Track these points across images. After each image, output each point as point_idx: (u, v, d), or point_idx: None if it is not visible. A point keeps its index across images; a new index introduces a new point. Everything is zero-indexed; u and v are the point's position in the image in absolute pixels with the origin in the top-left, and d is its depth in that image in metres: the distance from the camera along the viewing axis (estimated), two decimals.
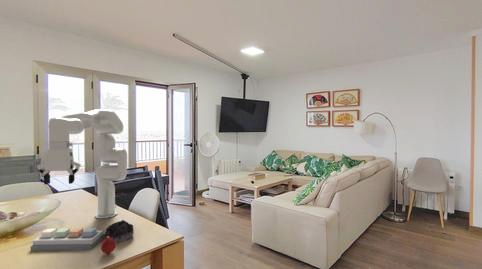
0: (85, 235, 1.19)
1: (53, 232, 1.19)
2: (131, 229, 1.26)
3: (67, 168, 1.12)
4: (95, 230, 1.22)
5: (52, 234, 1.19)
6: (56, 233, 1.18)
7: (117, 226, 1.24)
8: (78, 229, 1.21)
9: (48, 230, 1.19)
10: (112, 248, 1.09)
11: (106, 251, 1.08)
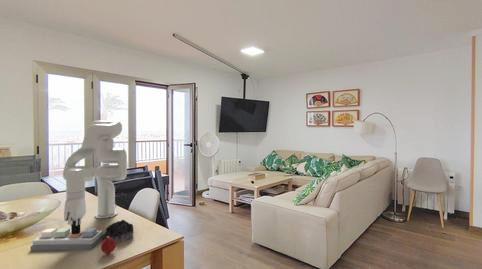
0: (85, 235, 1.19)
1: (53, 232, 1.19)
2: (131, 229, 1.26)
3: None
4: (95, 230, 1.22)
5: (52, 234, 1.19)
6: (56, 233, 1.18)
7: (117, 226, 1.24)
8: None
9: (48, 230, 1.19)
10: (112, 248, 1.09)
11: (106, 251, 1.08)
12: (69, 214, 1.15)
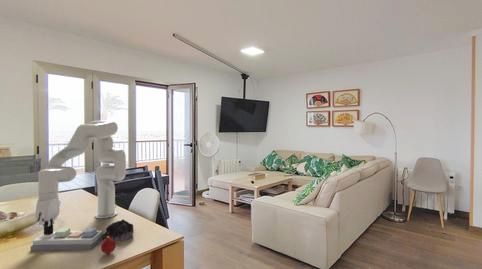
0: (85, 235, 1.19)
1: (53, 235, 1.19)
2: (131, 228, 1.27)
3: (58, 213, 1.23)
4: (95, 230, 1.22)
5: None
6: (56, 233, 1.18)
7: (117, 225, 1.24)
8: (78, 233, 1.21)
9: None
10: (112, 248, 1.09)
11: (106, 251, 1.08)
12: (41, 215, 1.15)
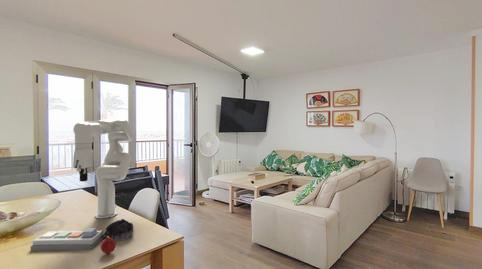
0: (85, 235, 1.19)
1: (53, 236, 1.19)
2: (131, 228, 1.27)
3: (91, 164, 1.38)
4: (95, 230, 1.22)
5: None
6: (56, 237, 1.18)
7: (117, 225, 1.25)
8: (78, 233, 1.21)
9: (48, 234, 1.19)
10: (112, 248, 1.09)
11: (106, 251, 1.08)
12: (78, 162, 1.29)
